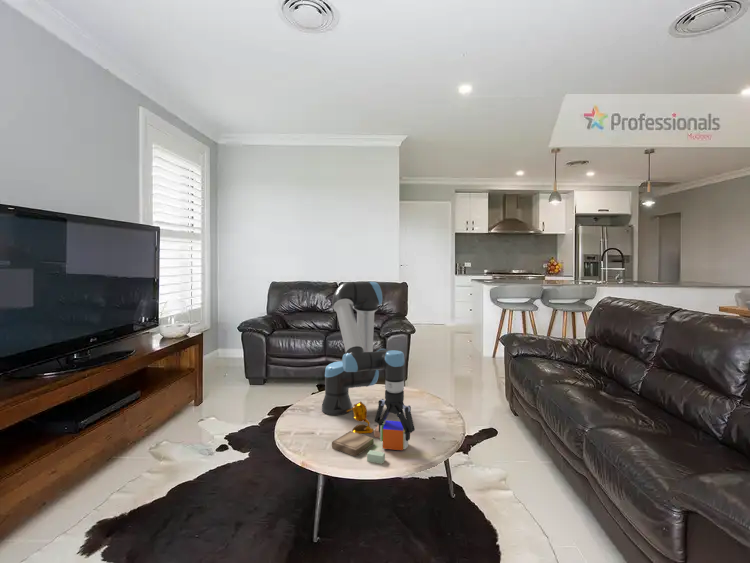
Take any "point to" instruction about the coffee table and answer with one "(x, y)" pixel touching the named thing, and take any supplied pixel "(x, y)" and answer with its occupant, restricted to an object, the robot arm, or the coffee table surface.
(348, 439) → the walnut slab
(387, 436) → the cube
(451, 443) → the coffee table surface
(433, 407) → the coffee table surface
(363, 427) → the figurine
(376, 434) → the terracotta brick
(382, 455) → the sage brick
